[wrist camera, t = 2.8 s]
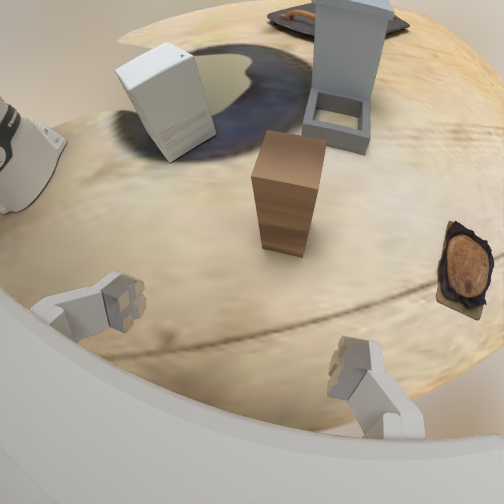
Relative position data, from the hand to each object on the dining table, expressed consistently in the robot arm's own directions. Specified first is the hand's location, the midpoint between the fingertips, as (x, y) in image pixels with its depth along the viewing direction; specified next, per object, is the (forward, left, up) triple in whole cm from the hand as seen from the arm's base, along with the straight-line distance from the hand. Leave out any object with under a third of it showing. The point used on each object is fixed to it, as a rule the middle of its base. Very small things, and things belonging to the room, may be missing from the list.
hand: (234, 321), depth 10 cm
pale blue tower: (-13, +28, -15) cm, 34 cm away
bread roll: (+12, +21, -16) cm, 29 cm away
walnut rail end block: (-5, +9, -15) cm, 18 cm away
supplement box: (-25, +10, -15) cm, 31 cm away
